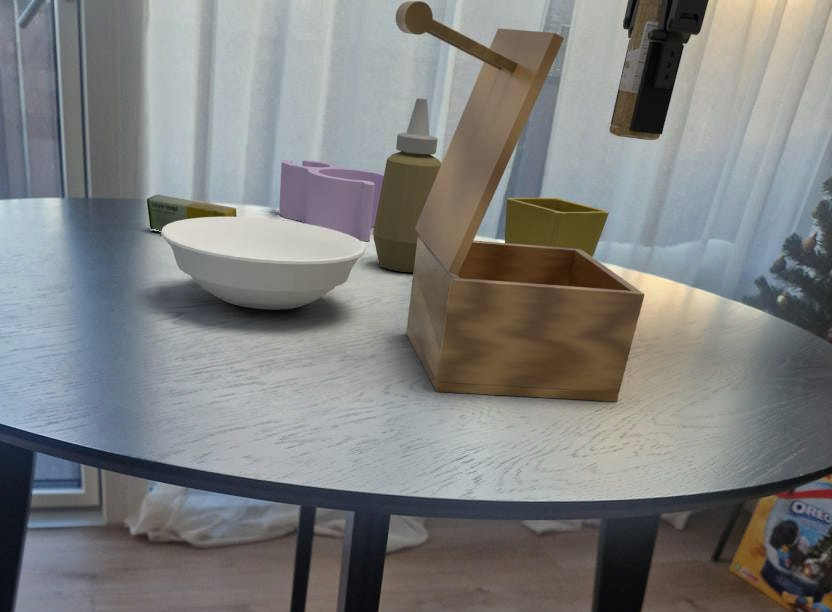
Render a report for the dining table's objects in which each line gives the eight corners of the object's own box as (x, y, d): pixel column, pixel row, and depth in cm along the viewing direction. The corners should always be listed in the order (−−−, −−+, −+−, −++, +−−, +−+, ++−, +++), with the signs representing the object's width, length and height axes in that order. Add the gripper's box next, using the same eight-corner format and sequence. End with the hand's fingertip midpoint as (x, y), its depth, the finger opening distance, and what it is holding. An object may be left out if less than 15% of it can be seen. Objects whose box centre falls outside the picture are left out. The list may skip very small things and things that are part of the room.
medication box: (148, 232, 117) (144, 197, 115) (161, 227, 119) (157, 193, 117) (227, 246, 113) (225, 211, 111) (239, 241, 115) (238, 206, 112)
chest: (560, 343, 91) (581, 248, 86) (617, 402, 78) (645, 294, 73) (405, 333, 89) (417, 235, 84) (435, 391, 76) (452, 279, 71)
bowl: (318, 279, 104) (322, 218, 101) (391, 331, 89) (399, 261, 86) (142, 279, 97) (140, 213, 93) (190, 335, 82) (190, 260, 79)
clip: (258, 213, 134) (260, 160, 131) (322, 209, 142) (325, 159, 138) (352, 242, 123) (357, 185, 119) (416, 236, 131) (422, 183, 127)
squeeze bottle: (381, 257, 117) (398, 93, 107) (442, 267, 115) (465, 102, 105) (360, 268, 111) (376, 95, 101) (425, 279, 109) (447, 104, 99)
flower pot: (541, 273, 118) (556, 196, 113) (592, 290, 112) (611, 210, 107) (491, 277, 113) (505, 197, 108) (543, 295, 108) (559, 212, 103)
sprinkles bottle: (609, 132, 84) (650, -51, 77) (660, 139, 84) (706, -45, 76) (606, 135, 81) (648, -56, 73) (659, 142, 80) (707, -51, 72)
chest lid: (506, 32, 76) (399, -25, 73) (564, 37, 62) (435, -32, 60) (422, 232, 84) (322, 188, 81) (457, 275, 71) (339, 224, 68)
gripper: (632, -210, 76) (567, 115, 89) (719, -262, 61) (627, 136, 74) (718, -197, 76) (642, 123, 89) (825, -245, 62) (715, 145, 75)
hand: (635, 128), depth 82 cm, fingers closed on sprinkles bottle, 4 cm apart
